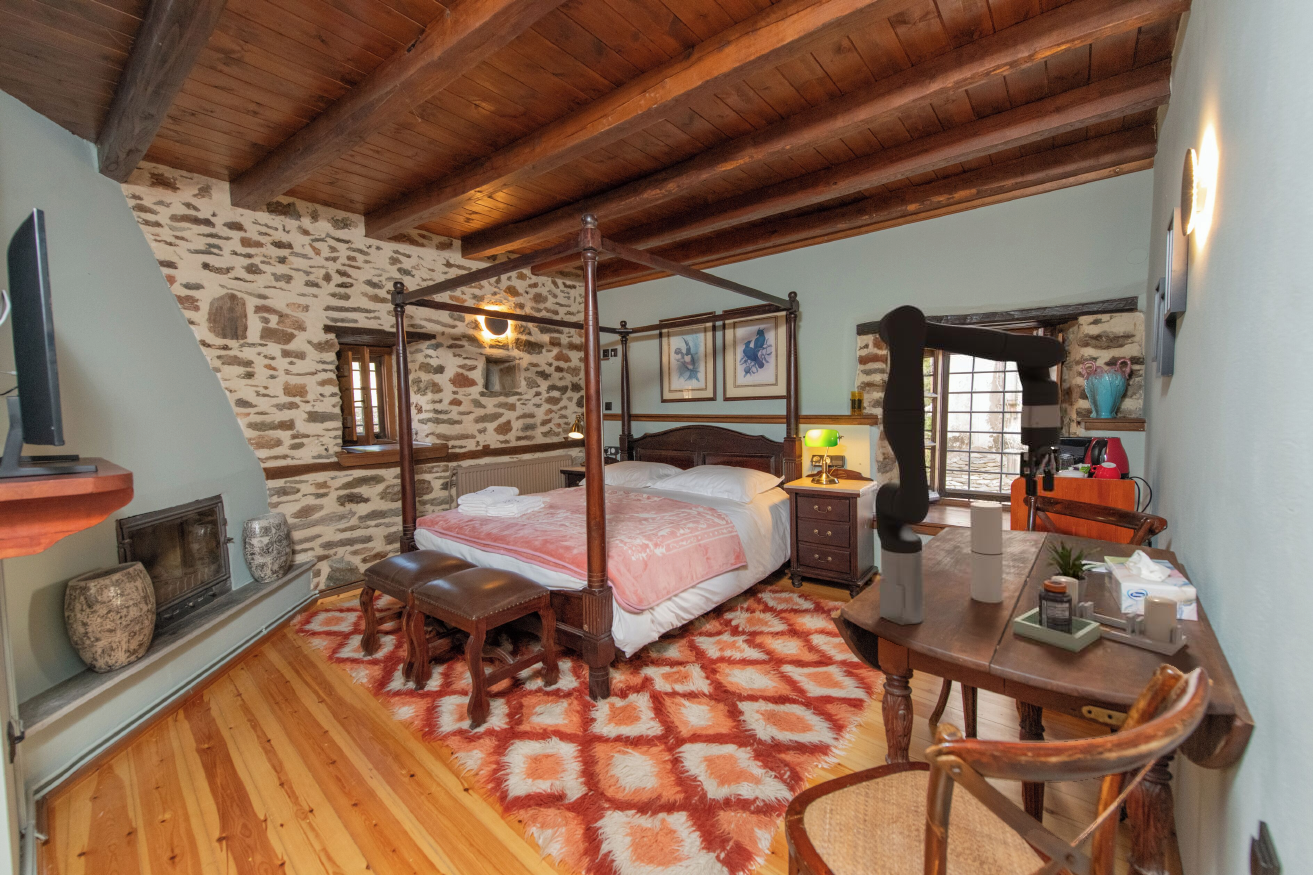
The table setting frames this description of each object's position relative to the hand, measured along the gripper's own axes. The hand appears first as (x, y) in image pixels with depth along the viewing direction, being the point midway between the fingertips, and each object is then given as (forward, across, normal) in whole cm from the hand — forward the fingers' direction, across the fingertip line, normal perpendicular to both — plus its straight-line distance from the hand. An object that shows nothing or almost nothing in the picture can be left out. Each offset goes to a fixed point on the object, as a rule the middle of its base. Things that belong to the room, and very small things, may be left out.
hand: (1040, 493), depth 126 cm
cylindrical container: (+30, +4, +14) cm, 34 cm away
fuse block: (+30, +4, -12) cm, 33 cm away
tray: (+30, -7, -6) cm, 31 cm away
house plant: (+30, +18, +2) cm, 35 cm away
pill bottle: (+30, -7, -6) cm, 31 cm away
